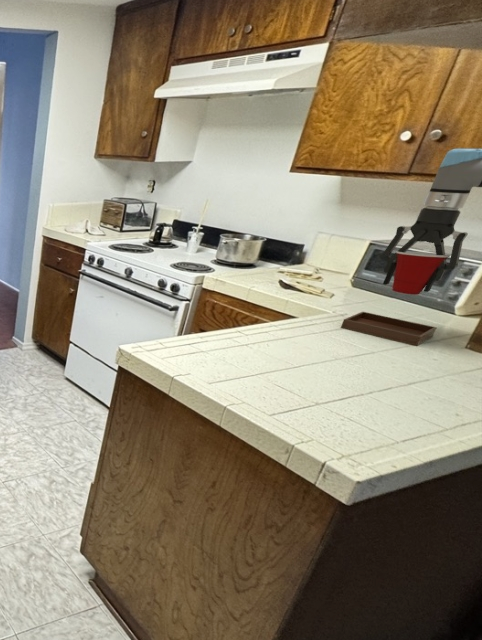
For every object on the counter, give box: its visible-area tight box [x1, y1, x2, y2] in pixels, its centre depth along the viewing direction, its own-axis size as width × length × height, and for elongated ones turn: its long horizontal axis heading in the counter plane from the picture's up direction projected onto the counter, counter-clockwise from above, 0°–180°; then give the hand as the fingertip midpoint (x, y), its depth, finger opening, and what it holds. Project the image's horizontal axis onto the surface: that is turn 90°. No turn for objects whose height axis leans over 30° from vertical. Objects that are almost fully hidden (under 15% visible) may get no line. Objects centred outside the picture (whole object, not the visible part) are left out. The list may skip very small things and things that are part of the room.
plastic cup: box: [391, 250, 451, 296], centre depth 137 cm, size 11×11×12 cm
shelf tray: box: [340, 311, 438, 347], centre depth 144 cm, size 17×16×3 cm
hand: (405, 287), depth 139 cm, fingers closed on plastic cup, 8 cm apart
